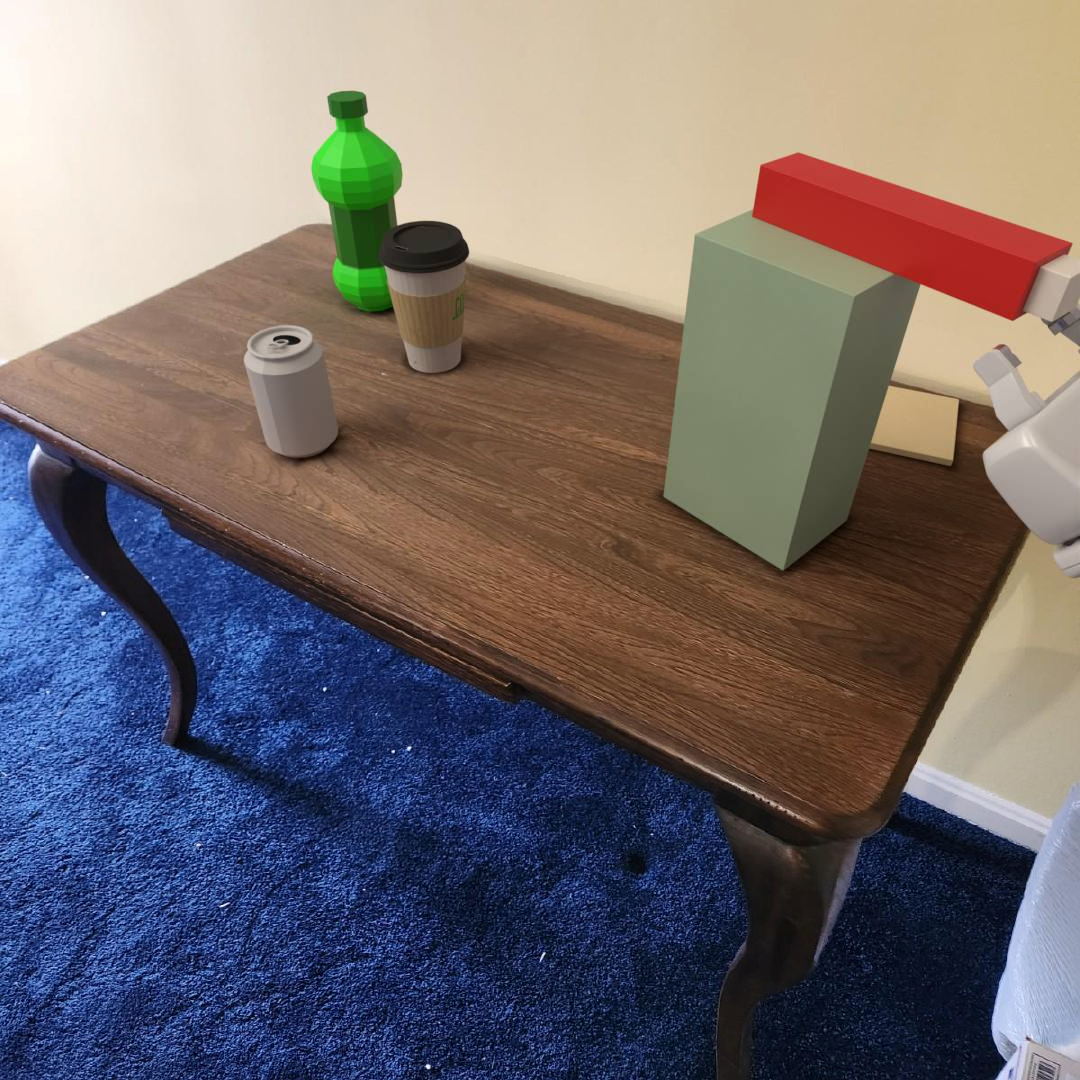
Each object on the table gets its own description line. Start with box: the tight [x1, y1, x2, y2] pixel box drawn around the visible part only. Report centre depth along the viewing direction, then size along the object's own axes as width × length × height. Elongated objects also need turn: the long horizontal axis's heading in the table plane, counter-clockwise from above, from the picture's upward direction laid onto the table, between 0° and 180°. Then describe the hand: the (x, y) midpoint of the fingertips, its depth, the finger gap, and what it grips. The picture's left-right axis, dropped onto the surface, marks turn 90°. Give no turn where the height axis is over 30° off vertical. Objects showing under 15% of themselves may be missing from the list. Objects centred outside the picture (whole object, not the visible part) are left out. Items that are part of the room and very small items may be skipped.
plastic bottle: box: [310, 90, 403, 313], centre depth 105 cm, size 10×10×25 cm
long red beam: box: [752, 151, 1080, 322], centre depth 61 cm, size 24×4×4 cm, turn 38°
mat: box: [869, 385, 960, 467], centre depth 93 cm, size 20×12×1 cm, turn 67°
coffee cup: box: [379, 220, 470, 374], centre depth 97 cm, size 10×10×15 cm
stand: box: [662, 208, 922, 572], centre depth 73 cm, size 14×10×26 cm
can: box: [243, 324, 339, 459], centre depth 86 cm, size 8×8×12 cm
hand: (1021, 327), depth 56 cm, fingers open, 8 cm apart
